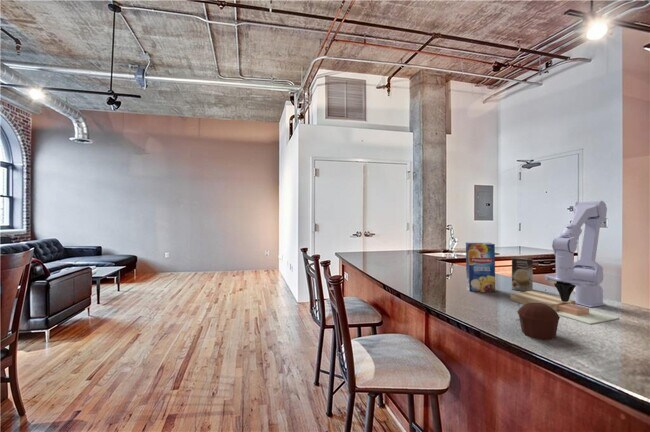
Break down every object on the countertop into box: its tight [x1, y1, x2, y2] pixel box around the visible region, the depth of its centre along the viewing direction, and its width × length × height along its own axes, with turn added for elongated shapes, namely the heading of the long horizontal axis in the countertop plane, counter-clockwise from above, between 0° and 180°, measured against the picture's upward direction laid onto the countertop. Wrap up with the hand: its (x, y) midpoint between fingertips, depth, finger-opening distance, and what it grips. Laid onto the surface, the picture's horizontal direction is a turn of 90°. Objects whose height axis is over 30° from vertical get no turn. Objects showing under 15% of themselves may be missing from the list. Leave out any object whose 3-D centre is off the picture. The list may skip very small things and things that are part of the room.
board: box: [510, 290, 576, 311], centre depth 131 cm, size 14×18×3 cm
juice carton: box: [465, 242, 496, 293], centre depth 156 cm, size 12×8×24 cm, turn 76°
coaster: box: [557, 303, 590, 316], centre depth 119 cm, size 7×7×2 cm
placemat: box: [556, 309, 620, 325], centre depth 116 cm, size 16×13×1 cm
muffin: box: [516, 302, 561, 341], centre depth 99 cm, size 12×11×10 cm
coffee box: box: [511, 256, 534, 292], centre depth 156 cm, size 9×6×16 cm
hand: (565, 301), depth 122 cm, fingers closed
